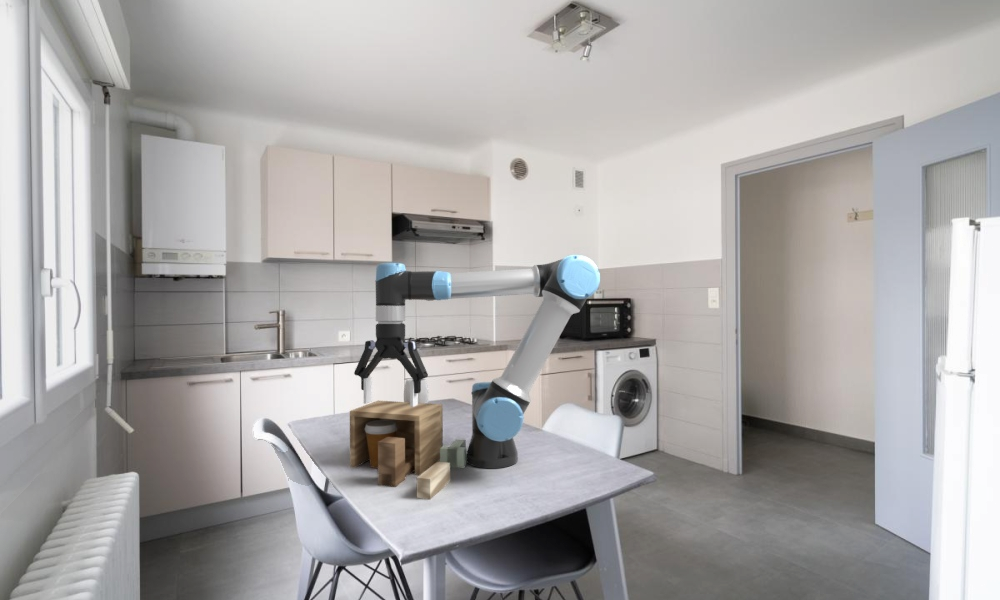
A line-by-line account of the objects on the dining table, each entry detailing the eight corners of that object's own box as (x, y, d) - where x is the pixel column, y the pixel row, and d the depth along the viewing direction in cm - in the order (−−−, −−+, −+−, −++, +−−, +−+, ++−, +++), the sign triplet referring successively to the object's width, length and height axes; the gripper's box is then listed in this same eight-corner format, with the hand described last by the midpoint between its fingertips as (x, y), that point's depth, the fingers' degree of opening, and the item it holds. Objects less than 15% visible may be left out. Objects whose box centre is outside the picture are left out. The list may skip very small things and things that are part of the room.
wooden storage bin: (442, 457, 145) (442, 404, 145) (419, 474, 131) (419, 415, 131) (378, 451, 152) (378, 400, 152) (350, 467, 137) (349, 410, 137)
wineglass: (417, 448, 155) (417, 382, 155) (397, 444, 160) (397, 380, 160) (434, 441, 162) (434, 378, 162) (415, 437, 167) (415, 376, 167)
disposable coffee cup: (390, 471, 134) (389, 427, 134) (358, 469, 136) (358, 426, 136) (403, 460, 143) (403, 419, 143) (373, 458, 145) (373, 418, 145)
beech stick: (450, 482, 126) (449, 462, 126) (430, 500, 114) (430, 479, 114) (437, 480, 127) (437, 461, 127) (416, 498, 115) (416, 477, 115)
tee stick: (472, 456, 146) (472, 440, 146) (463, 467, 136) (463, 450, 136) (449, 455, 147) (449, 439, 147) (440, 466, 138) (439, 448, 138)
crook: (433, 459, 143) (433, 422, 144) (395, 487, 122) (395, 443, 122) (386, 454, 148) (385, 419, 148) (341, 480, 127) (341, 438, 127)
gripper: (440, 322, 125) (440, 404, 125) (357, 321, 133) (357, 398, 133) (427, 323, 118) (427, 410, 118) (340, 322, 126) (340, 404, 126)
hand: (390, 404), depth 125 cm, fingers open, 13 cm apart
